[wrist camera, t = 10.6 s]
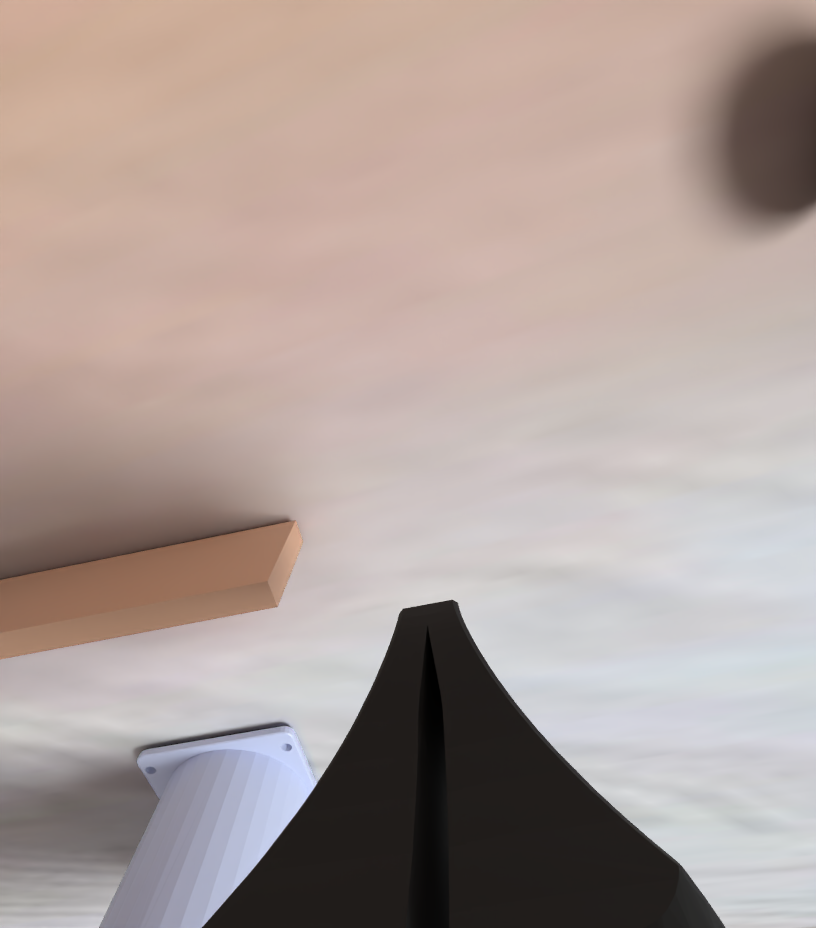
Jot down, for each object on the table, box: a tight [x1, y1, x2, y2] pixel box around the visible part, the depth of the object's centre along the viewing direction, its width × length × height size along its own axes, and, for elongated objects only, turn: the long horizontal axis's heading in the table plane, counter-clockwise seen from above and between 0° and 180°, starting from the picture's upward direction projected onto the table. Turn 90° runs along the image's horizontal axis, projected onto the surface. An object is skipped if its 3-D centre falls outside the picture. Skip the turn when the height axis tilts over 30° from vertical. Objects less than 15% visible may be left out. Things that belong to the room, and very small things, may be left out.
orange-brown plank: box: [0, 520, 303, 659], centre depth 17 cm, size 1×15×4 cm, turn 102°
